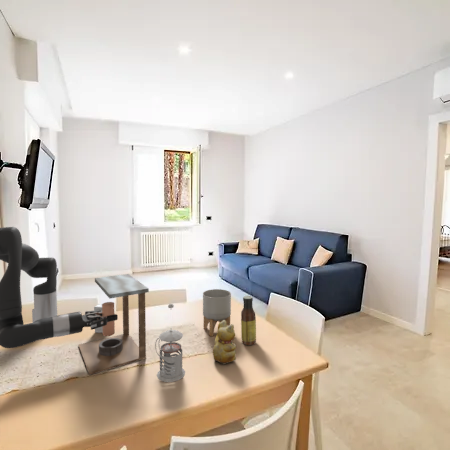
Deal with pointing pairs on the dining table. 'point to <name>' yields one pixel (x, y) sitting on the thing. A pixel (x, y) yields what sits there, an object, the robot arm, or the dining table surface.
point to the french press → (170, 356)
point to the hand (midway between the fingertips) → (115, 314)
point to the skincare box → (99, 307)
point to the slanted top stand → (123, 344)
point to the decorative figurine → (224, 343)
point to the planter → (216, 308)
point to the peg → (106, 311)
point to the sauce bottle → (248, 322)
